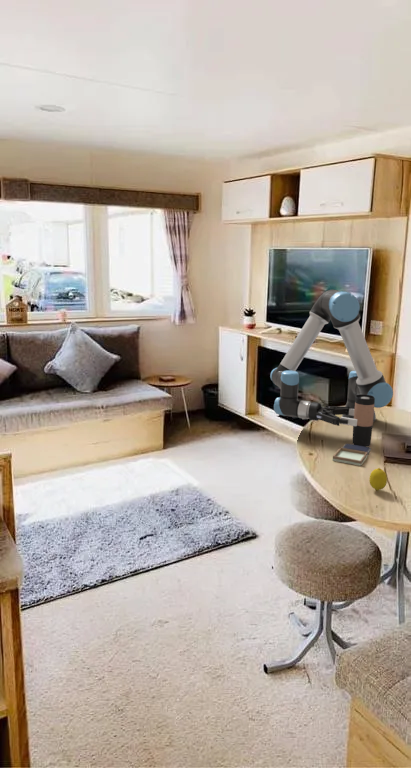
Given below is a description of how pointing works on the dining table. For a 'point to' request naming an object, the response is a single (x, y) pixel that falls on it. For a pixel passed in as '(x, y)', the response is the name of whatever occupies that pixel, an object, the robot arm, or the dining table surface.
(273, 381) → the robot arm
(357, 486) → the dining table surface
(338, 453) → the box
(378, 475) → the lemon
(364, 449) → the ink pad
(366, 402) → the travel mug
